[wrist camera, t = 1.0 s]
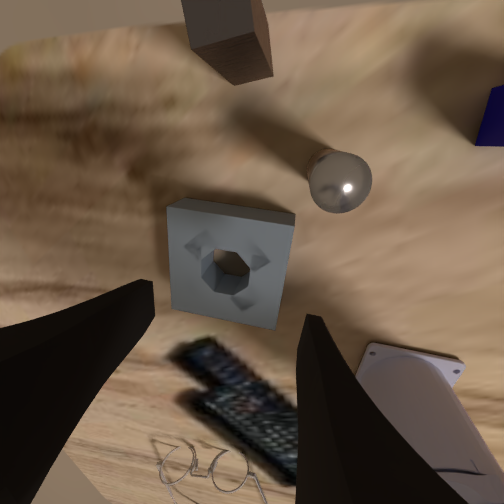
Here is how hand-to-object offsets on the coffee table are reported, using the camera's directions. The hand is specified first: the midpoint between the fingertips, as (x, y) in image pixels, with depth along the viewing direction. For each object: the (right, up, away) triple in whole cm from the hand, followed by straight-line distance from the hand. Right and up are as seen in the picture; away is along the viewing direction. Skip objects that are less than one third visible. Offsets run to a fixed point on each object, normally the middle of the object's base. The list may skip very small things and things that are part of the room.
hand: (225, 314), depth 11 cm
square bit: (+1, +15, +4) cm, 16 cm away
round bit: (+6, +9, +6) cm, 12 cm away
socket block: (0, +2, +10) cm, 10 cm away
